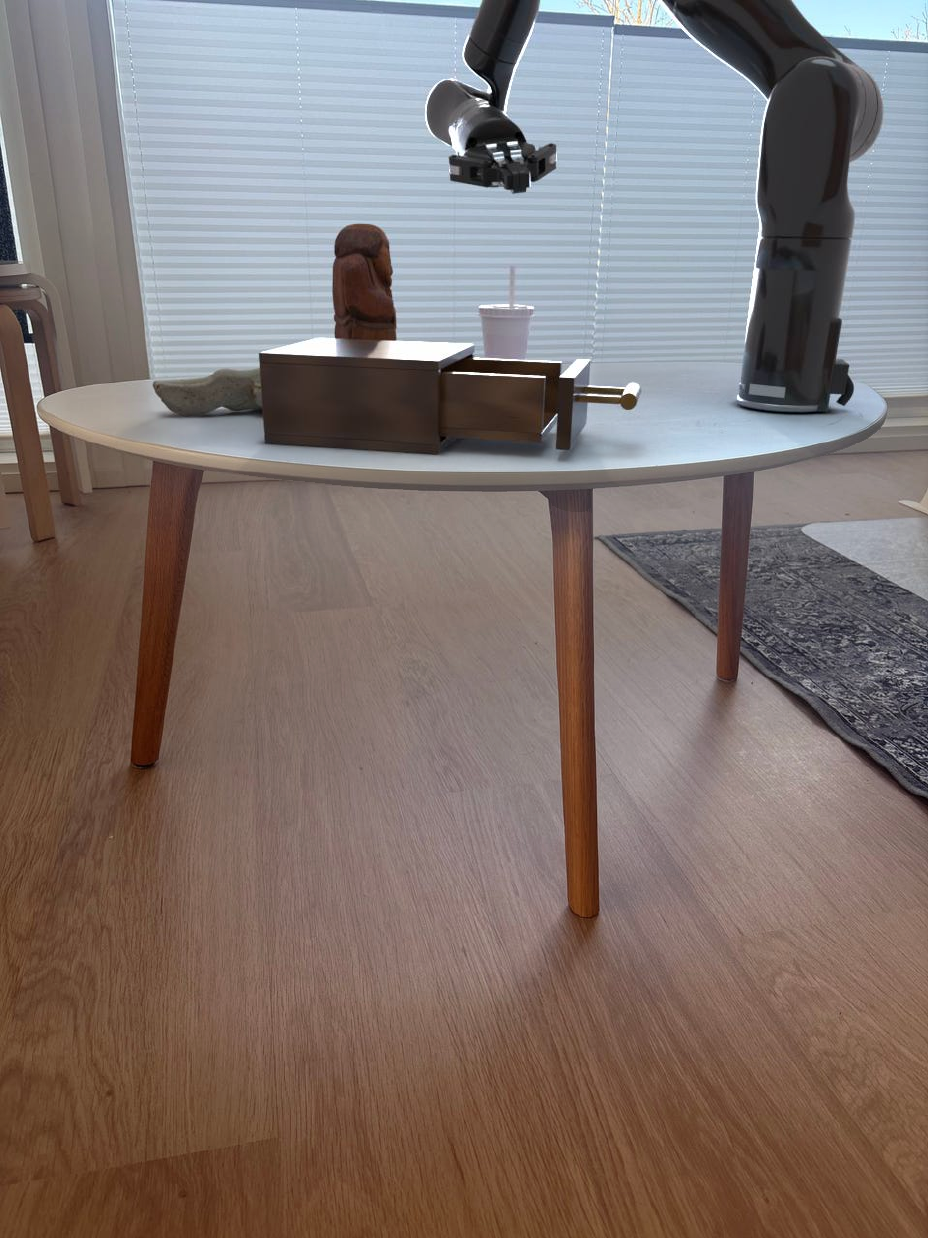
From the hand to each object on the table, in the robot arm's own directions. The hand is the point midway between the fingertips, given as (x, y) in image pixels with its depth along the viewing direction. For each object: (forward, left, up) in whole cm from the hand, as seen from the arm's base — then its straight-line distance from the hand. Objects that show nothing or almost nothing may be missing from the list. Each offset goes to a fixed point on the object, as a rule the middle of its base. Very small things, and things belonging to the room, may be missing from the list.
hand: (519, 182), depth 98 cm
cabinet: (+8, +25, -22) cm, 35 cm away
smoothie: (+1, -2, -22) cm, 23 cm away
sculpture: (+25, +19, -22) cm, 39 cm away
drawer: (-6, +25, -21) cm, 34 cm away
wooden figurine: (+15, +6, -22) cm, 28 cm away
